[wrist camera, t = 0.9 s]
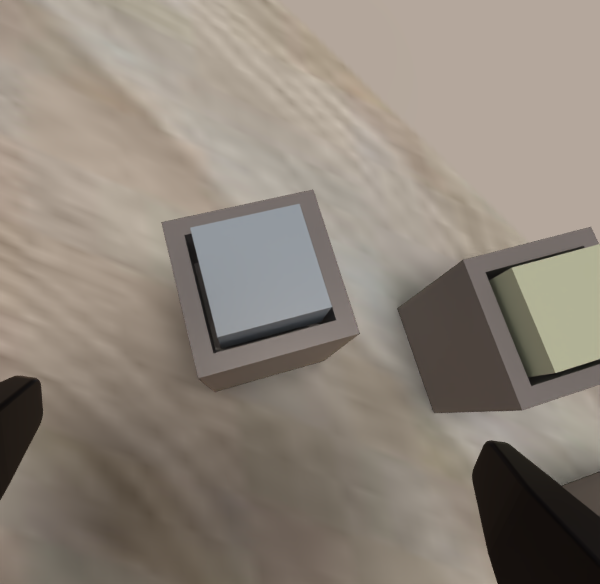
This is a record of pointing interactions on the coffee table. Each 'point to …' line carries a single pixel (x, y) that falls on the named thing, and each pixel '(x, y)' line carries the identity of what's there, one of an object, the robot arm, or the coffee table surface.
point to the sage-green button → (553, 310)
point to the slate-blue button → (260, 274)
